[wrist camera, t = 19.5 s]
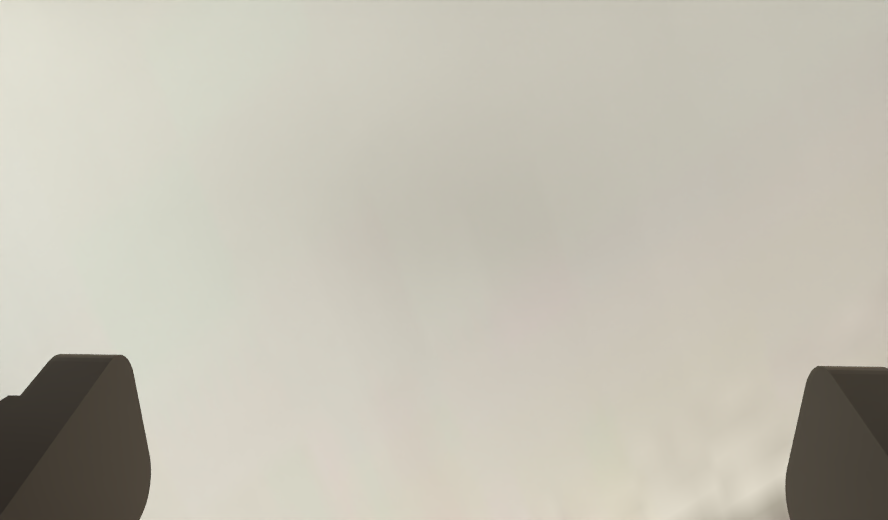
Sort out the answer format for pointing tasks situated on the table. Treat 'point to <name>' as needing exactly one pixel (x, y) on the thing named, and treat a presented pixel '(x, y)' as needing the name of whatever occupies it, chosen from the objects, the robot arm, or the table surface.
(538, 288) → the table surface
